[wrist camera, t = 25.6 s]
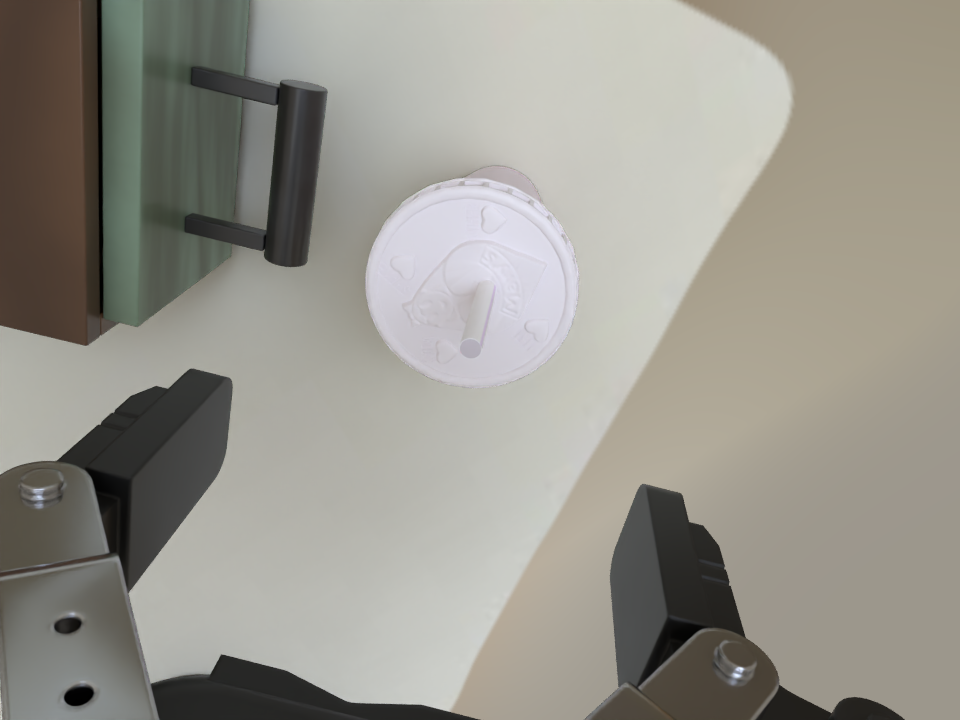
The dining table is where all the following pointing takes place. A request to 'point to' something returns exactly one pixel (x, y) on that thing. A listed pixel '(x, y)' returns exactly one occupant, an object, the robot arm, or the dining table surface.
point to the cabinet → (50, 170)
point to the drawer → (189, 150)
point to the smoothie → (473, 280)
